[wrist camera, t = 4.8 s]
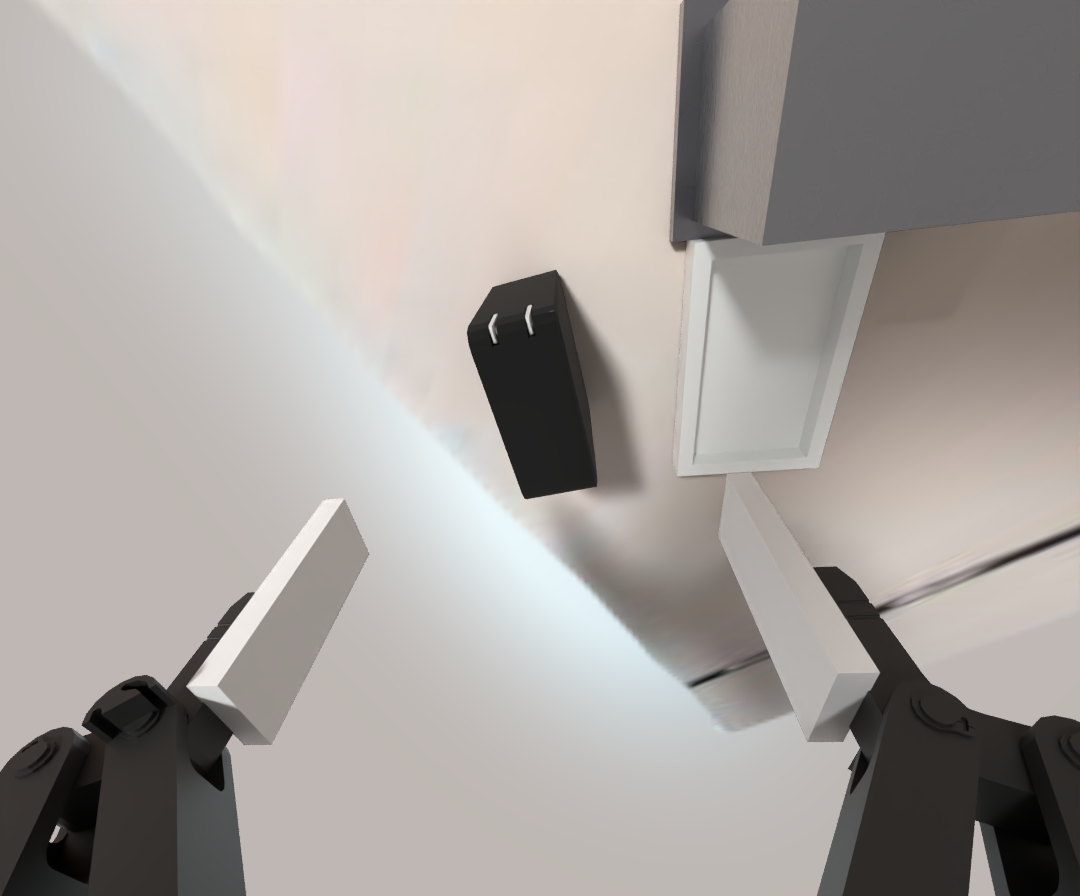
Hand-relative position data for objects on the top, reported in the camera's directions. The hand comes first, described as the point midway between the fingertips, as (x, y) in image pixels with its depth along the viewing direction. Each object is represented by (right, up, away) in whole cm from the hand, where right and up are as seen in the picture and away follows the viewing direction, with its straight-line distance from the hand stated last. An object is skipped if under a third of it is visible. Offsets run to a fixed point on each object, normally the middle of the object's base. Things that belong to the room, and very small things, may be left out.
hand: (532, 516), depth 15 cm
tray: (+15, +8, +14) cm, 22 cm away
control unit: (+14, +19, +7) cm, 25 cm away
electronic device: (+1, +9, +14) cm, 17 cm away
